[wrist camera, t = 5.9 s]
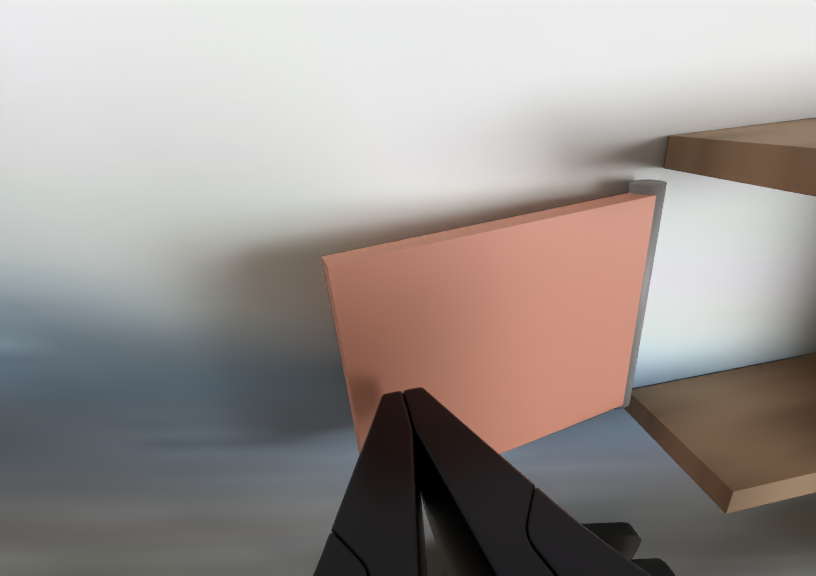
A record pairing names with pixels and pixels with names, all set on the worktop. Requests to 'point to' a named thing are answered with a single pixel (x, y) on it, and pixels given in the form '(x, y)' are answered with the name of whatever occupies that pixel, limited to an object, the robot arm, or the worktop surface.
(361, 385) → the salmon pink flat panel
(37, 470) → the worktop surface
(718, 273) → the worktop surface
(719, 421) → the brown wooden open frame
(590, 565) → the robot arm
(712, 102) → the worktop surface
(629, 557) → the end cap
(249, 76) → the worktop surface
